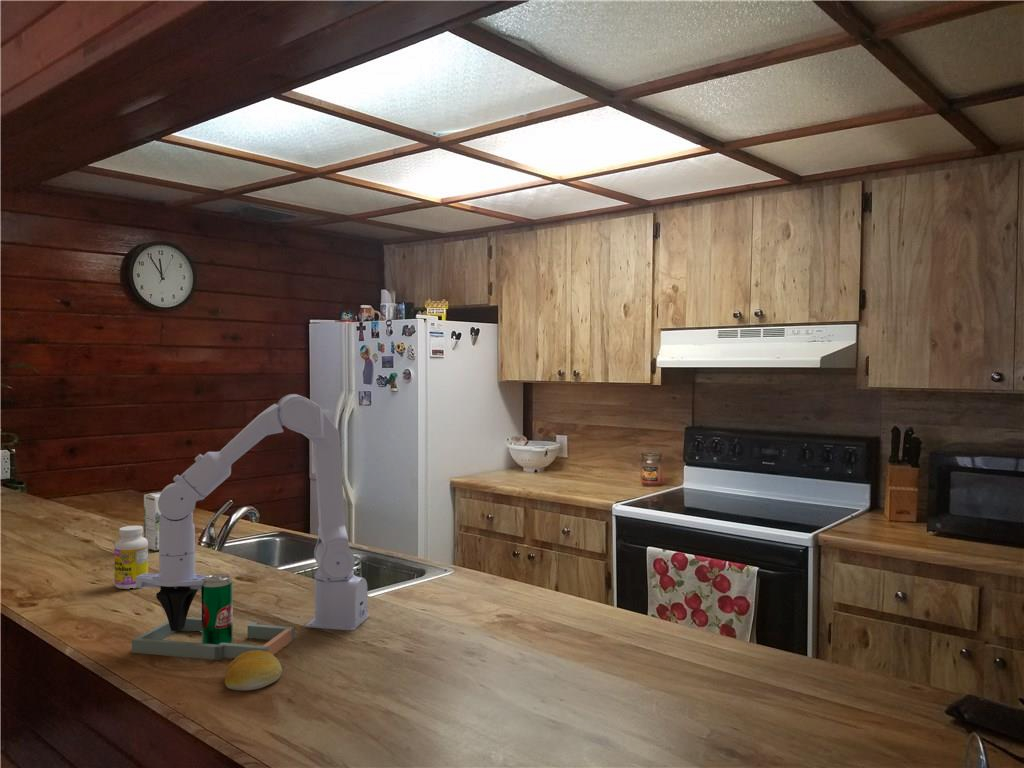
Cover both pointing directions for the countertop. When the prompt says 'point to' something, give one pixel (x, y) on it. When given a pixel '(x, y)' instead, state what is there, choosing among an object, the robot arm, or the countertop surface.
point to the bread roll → (252, 671)
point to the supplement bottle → (130, 556)
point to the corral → (157, 646)
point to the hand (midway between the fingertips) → (177, 629)
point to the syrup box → (152, 520)
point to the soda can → (217, 609)
